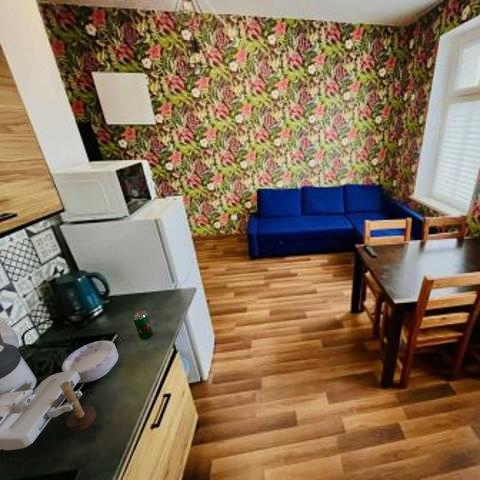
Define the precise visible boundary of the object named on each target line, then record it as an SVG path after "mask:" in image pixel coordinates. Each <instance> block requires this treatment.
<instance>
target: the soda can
mask: <svg viewBox="0 0 480 480" xmlns="http://www.w3.org/2000/svg"><path fill="white" fill-rule="evenodd" d="M132 317H133V318H132V320H133V322H134V325H135V329H136V331H137V332H136V333H137V335H138V338H139V339H140V340H142V341H146V340H149V339H150V338H152V337H153V335H154V331H153V328H152V324H151V322H150V318H149V315H148V312H146V311H145V310H140V311H137V312H135V313H134V314H133V316H132Z"/></svg>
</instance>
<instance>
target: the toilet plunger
mask: <svg viewBox="0 0 480 480" xmlns="http://www.w3.org/2000/svg"><path fill="white" fill-rule="evenodd" d="M60 387H61V389H62V391H63V393H64V395H65V397H66V399H65V400H66V401H67V402H74V404H75V406H74V407H73V409H72V410H71V411H72V412H71V414H69V416H68V417H67V419H66V421H65V422H66V426H67V427H68V430H69V431H70V432H72V433H78V432H82V431H83V430H86V429H87V428H89V427H90V426H91V425H92V424H94V421H95V420H96V418H97V412H96V410H95V408H94V406H93V405H84V406H82V405H81V403H80V400H78V399H77V397H76V395H75V393H74V392H75V391H74V388H73V389H72V387H71V385H70V383H69V382H68V381H67V382H64V383H62V384H61V385H60Z"/></svg>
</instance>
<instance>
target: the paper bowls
mask: <svg viewBox="0 0 480 480" xmlns="http://www.w3.org/2000/svg"><path fill="white" fill-rule="evenodd" d="M118 361H119V353H118V349H117V347H116V345H115V343H114V342H113V341H110V340H98V341H94V342H89V343H88V344H85V345H83V346H81V347H79V348H78V349H76V350H74V351H73V352H71V353H70V354H69V355H68V356H67V357H66V358H65V359H64V361H63V363H62V365H61V371H62V372H66V371H71V370H76V371H77V372H78V374H79V376H80V380H79V381H78V383H77V384H82V383H84V384H85V383H91V382H94V381H96V380H99V379H101V378H102V377H104V376H105V375H107V374H108V373H109V372H110V371H111V369H112V368H113V367H114V366H115V365H116V364H117V362H118Z"/></svg>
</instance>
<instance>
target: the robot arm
mask: <svg viewBox="0 0 480 480" xmlns="http://www.w3.org/2000/svg"><path fill="white" fill-rule="evenodd" d="M19 347H20V341H19V336H18V334H17V333H16V330H14V328H13V327H12V326H11V325H9V324H8V323H6V322H4V321H3V320H0V450H3V451H14V450H20V449H24V448H27V447H29V446H31V445H32V444H33V443H34V442H35V441H36V439H37V438H38V436H39V435H40V434H41V432H42V431H43V430H44V428H45V427H46V426H47V425H48V423H49V422H50V420H51V419H52V418H56V417H59V416H60V415H62V414H64V413H67V412H71V411H72V409H73V407H74V406H75V404H74V402H68V401H67V402H65V400H67V399H66V397H65V395H64V393H63V391H62V389H61V387H60V385H61V384H62V383H64V382H67V381H68V382H69V383H70V385H71V387H72V389H73V390H74V388H75V387H76V385H78V384H79V383H78V381H79V380H80V376H79V374H78V372H77V371H76V370H71V371H66V372H63V371H62V372H58V373H54V374H51V375H49V376H48V377H46V378H45V379H43V380H42V381H41V382H40V383H39V385H38V386H37V383H38V380H37V377H36V375H35V374H34V373H33V371H32V369H31V368H30V367H29V366H28V364H27V362H26V361H25V360H24V358H23V356H22V354H21V352H20V351H19ZM74 393H75V395H76V397H77V399H78V401H80V399H81V397H82V396H83V393H82V391H80V390H78V391H74ZM64 402H65V403H64ZM63 403H64V404H63Z"/></svg>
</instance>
